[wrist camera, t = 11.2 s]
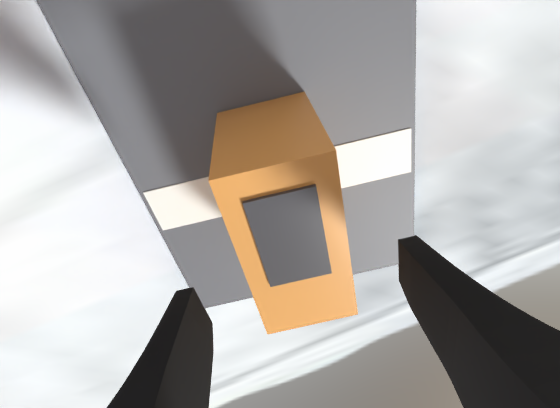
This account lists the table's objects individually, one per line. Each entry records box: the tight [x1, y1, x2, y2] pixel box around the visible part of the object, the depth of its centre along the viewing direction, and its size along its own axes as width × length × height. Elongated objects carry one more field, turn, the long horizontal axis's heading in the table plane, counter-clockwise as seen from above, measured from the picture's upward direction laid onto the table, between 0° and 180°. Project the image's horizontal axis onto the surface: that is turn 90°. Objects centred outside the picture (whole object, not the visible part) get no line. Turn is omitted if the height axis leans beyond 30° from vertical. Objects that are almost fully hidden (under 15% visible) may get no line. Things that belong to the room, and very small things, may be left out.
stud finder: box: [208, 91, 358, 334], centre depth 15 cm, size 4×8×6 cm, turn 12°
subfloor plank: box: [37, 0, 416, 308], centre depth 17 cm, size 14×21×1 cm, turn 12°
